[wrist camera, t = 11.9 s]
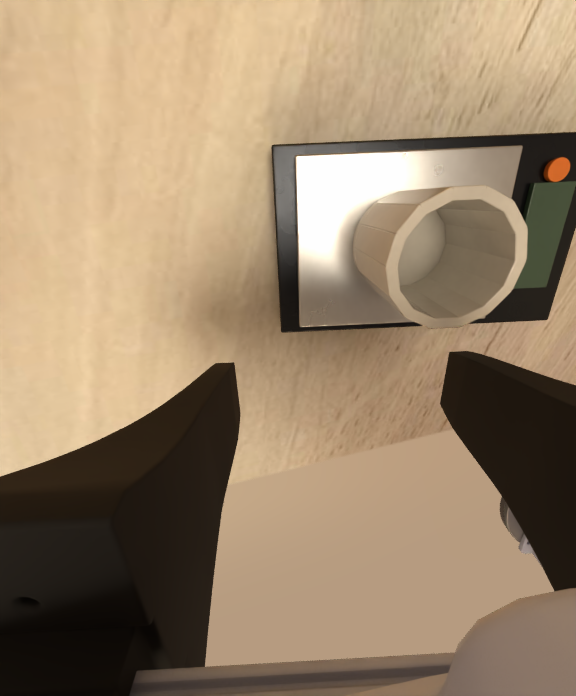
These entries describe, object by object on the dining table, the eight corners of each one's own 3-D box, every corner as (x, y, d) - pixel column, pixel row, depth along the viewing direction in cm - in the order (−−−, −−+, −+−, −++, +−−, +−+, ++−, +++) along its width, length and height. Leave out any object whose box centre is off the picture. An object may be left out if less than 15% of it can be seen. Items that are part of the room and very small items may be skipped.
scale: (523, 309, 20) (556, 324, 18) (280, 321, 20) (281, 337, 18) (569, 138, 16) (619, 127, 14) (272, 150, 16) (271, 142, 14)
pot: (440, 288, 17) (510, 325, 12) (349, 292, 17) (380, 331, 12) (456, 188, 15) (547, 181, 10) (353, 193, 15) (392, 189, 10)
